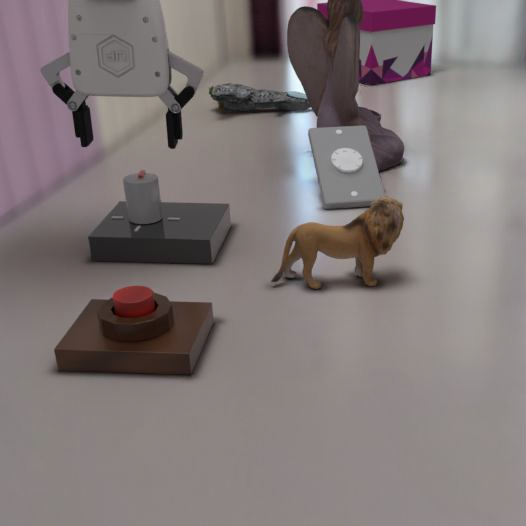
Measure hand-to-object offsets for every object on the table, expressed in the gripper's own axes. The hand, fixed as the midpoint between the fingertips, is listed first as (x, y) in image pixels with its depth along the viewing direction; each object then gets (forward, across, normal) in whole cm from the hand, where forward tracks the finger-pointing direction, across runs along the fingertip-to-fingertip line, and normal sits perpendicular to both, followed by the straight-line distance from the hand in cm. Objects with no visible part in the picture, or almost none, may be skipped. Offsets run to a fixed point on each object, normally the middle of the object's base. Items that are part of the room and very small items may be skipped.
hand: (130, 144), depth 91 cm
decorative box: (+11, +37, +102) cm, 109 cm away
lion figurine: (+12, +24, -11) cm, 29 cm away
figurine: (+11, +28, +33) cm, 45 cm away
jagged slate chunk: (+12, +12, +66) cm, 68 cm away
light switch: (+11, +26, +18) cm, 33 cm away
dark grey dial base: (+12, +3, 0) cm, 12 cm away
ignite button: (+8, +4, -25) cm, 27 cm away
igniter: (+12, +4, -25) cm, 28 cm away
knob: (+9, +1, 0) cm, 9 cm away
